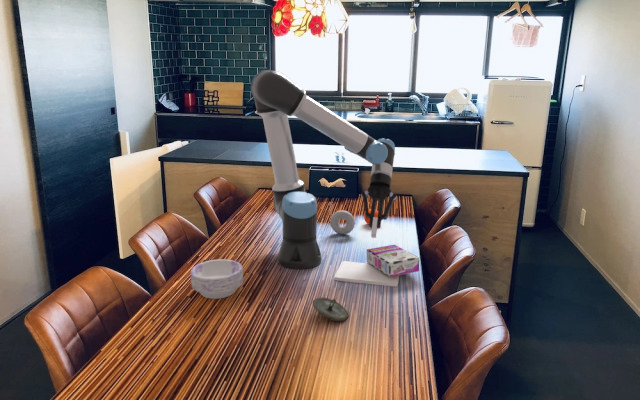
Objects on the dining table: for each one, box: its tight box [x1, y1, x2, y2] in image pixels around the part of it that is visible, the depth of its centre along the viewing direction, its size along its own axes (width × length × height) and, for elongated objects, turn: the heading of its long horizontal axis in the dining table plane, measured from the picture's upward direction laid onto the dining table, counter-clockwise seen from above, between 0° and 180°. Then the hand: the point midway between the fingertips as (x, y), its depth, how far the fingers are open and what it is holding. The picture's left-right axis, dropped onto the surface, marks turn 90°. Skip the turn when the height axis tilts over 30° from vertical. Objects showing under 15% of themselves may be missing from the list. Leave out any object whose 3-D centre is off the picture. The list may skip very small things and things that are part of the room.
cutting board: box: [333, 260, 401, 288], centre depth 166 cm, size 14×20×1 cm
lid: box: [312, 297, 349, 322], centre depth 139 cm, size 11×10×5 cm
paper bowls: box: [190, 258, 244, 300], centre depth 151 cm, size 15×15×8 cm
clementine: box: [363, 208, 378, 225], centre depth 215 cm, size 8×7×7 cm
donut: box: [329, 210, 356, 235], centre depth 203 cm, size 10×3×10 cm, turn 76°
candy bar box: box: [366, 244, 420, 277], centre depth 168 cm, size 11×5×16 cm
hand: (373, 235), depth 173 cm, fingers closed
